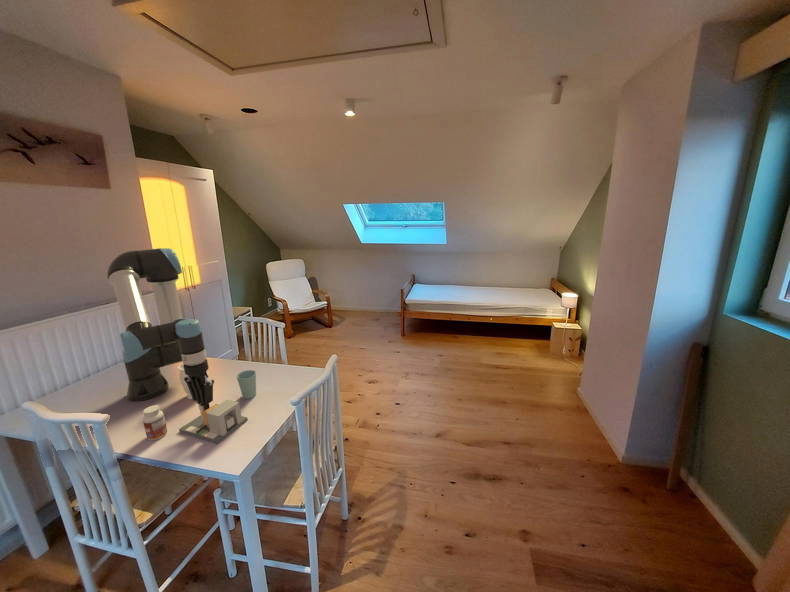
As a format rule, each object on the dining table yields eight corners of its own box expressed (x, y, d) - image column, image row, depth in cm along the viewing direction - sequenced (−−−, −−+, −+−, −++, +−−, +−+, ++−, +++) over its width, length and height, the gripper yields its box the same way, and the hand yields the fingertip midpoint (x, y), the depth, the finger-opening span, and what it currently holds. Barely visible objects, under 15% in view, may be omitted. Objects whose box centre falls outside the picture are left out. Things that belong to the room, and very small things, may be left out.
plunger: (194, 433, 117) (191, 419, 115) (218, 417, 126) (215, 403, 124) (215, 439, 113) (212, 424, 112) (237, 422, 122) (235, 408, 121)
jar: (183, 403, 138) (176, 372, 134) (185, 392, 147) (179, 362, 143) (211, 396, 143) (205, 366, 139) (211, 386, 152) (206, 357, 148)
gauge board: (179, 431, 120) (174, 409, 118) (212, 410, 133) (208, 390, 130) (217, 443, 113) (212, 420, 111) (247, 420, 126) (244, 398, 124)
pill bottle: (145, 436, 118) (138, 409, 115) (164, 427, 123) (158, 401, 120) (150, 443, 114) (143, 416, 112) (170, 434, 119) (163, 408, 116)
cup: (259, 397, 141) (255, 376, 139) (239, 402, 138) (236, 380, 136) (258, 389, 148) (255, 368, 145) (240, 393, 145) (236, 372, 142)
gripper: (172, 363, 116) (185, 420, 122) (198, 368, 112) (210, 427, 118) (192, 354, 123) (203, 409, 129) (217, 359, 118) (227, 415, 124)
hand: (206, 417), depth 123 cm, fingers closed
